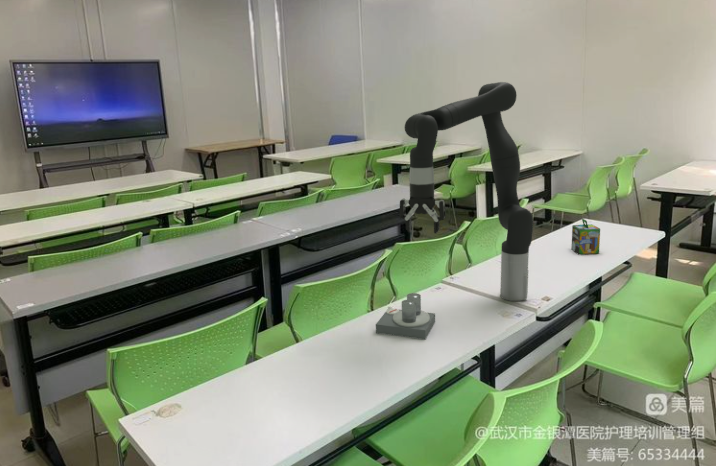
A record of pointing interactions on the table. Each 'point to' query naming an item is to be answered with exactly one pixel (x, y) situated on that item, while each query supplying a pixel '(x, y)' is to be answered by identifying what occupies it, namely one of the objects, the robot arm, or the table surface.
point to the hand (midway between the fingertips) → (422, 232)
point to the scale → (405, 324)
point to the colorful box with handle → (585, 238)
